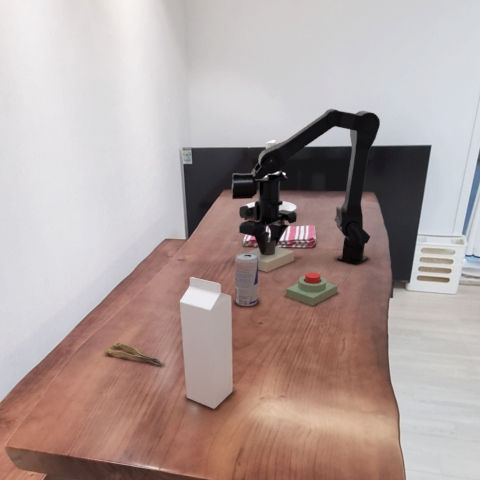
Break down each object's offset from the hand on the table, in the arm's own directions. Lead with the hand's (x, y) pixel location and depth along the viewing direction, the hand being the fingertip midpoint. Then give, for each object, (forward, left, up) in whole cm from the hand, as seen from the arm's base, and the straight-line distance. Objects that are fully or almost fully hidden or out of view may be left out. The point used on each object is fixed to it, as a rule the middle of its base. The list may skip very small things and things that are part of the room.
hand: (267, 251), depth 136 cm
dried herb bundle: (+58, +15, -4) cm, 60 cm away
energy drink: (+24, +14, -4) cm, 28 cm away
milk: (+56, +35, -4) cm, 66 cm away
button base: (+10, +23, -4) cm, 25 cm away
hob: (0, 0, -4) cm, 4 cm away
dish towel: (-19, -11, -4) cm, 22 cm away
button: (+10, +23, 0) cm, 25 cm away
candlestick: (-38, -32, -4) cm, 50 cm away
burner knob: (0, 0, 0) cm, 0 cm away
